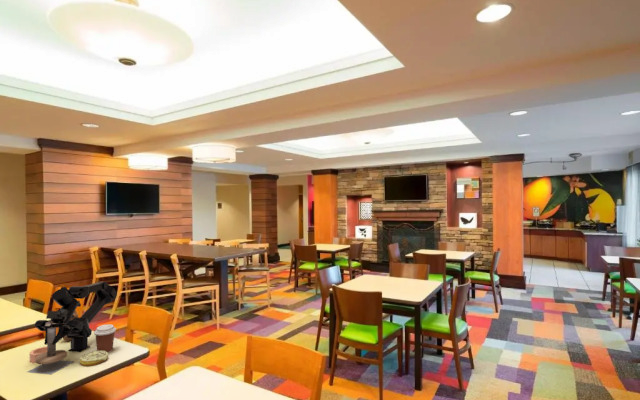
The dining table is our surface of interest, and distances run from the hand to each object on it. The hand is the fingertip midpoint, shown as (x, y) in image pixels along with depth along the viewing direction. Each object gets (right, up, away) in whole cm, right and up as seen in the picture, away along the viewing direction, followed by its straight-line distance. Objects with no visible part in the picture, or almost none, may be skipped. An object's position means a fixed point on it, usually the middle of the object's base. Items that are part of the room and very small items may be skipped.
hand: (49, 344), depth 153 cm
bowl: (-10, -10, +9) cm, 17 cm away
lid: (0, -7, +1) cm, 7 cm away
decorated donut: (+15, -11, +7) cm, 20 cm away
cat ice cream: (-13, -10, +30) cm, 34 cm away
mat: (0, -11, +2) cm, 11 cm away
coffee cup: (+13, -11, +18) cm, 25 cm away
